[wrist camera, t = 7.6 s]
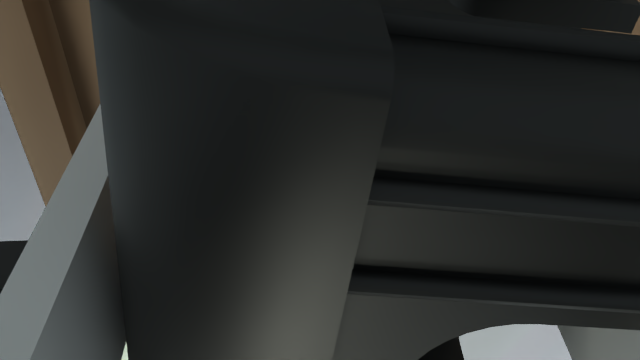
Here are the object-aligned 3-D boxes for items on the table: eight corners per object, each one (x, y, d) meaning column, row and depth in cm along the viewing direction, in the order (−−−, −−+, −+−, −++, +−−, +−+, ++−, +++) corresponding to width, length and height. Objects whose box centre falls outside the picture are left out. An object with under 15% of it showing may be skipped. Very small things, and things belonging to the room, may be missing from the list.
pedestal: (117, 187, 23) (77, 289, 19) (-6, -253, 15) (-127, -248, 11) (521, 173, 24) (572, 271, 19) (622, -267, 15) (752, -267, 11)
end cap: (155, -144, 10) (-30, 21, 4) (575, -88, 10) (879, 117, 5) (170, 283, 16) (103, 578, 10) (434, 300, 16) (501, 585, 11)
